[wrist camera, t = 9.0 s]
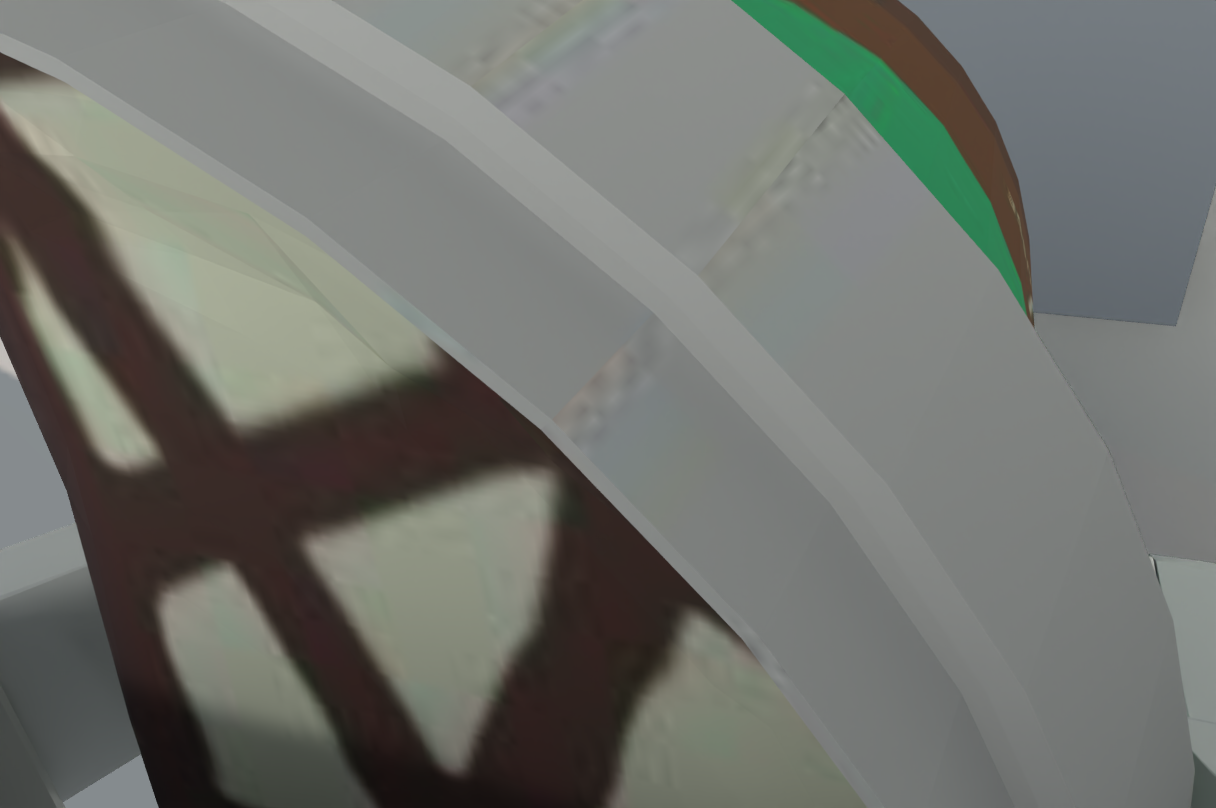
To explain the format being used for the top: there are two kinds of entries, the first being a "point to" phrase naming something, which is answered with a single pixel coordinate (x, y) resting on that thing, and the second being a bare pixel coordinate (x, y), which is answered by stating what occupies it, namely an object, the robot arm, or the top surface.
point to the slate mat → (1099, 139)
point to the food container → (568, 411)
